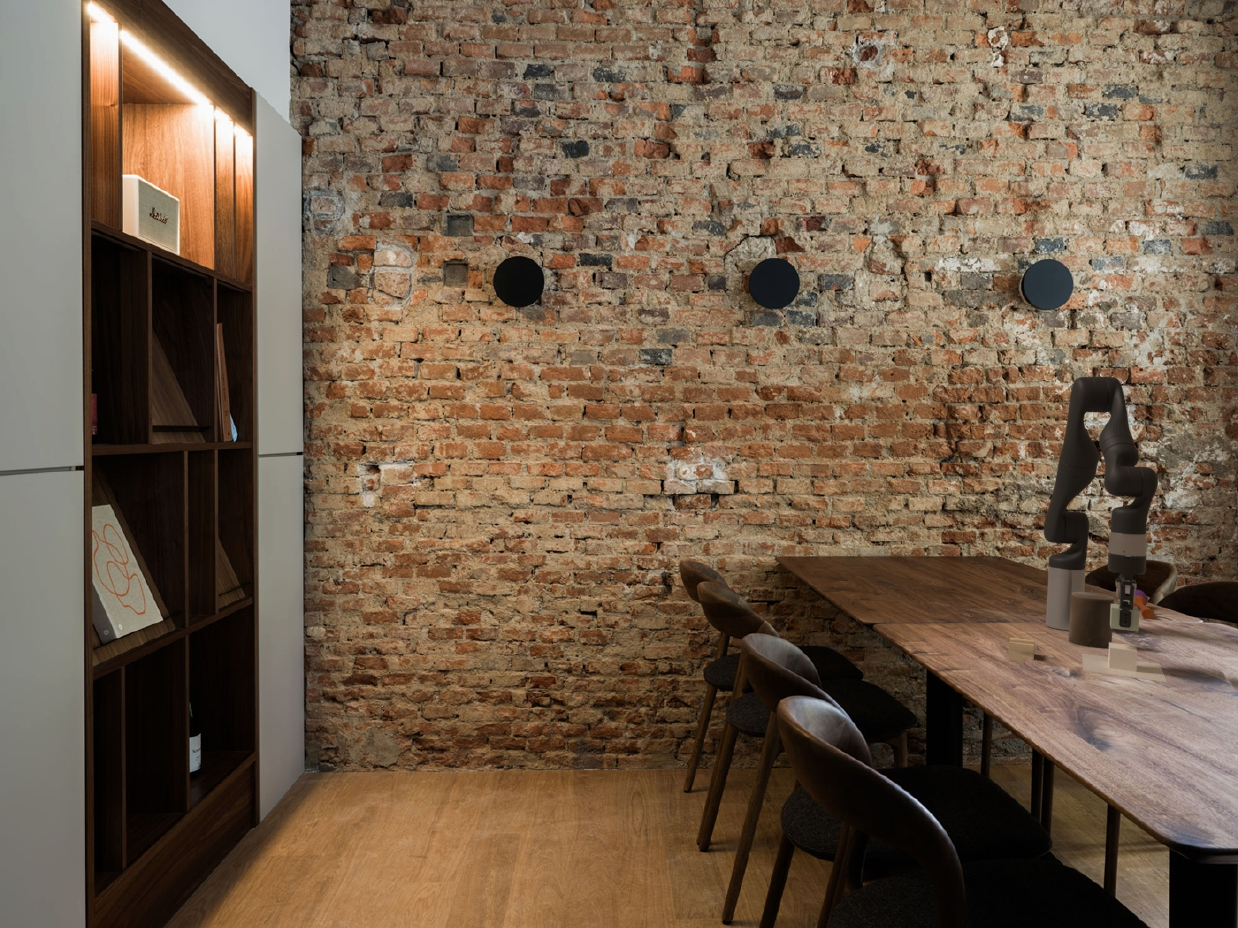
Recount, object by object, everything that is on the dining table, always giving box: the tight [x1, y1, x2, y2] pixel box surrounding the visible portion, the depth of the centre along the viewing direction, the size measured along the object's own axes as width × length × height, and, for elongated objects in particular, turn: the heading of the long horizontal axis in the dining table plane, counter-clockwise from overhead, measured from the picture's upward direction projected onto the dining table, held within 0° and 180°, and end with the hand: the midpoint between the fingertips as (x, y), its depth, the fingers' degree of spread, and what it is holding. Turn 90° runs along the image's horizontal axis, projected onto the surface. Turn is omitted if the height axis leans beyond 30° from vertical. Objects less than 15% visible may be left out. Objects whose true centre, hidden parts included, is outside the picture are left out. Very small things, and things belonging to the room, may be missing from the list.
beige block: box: [1107, 642, 1139, 672], centre depth 189 cm, size 5×5×5 cm
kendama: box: [1133, 589, 1156, 620], centre depth 253 cm, size 6×6×20 cm
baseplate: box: [1081, 653, 1168, 683], centre depth 190 cm, size 16×16×1 cm
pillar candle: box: [1068, 590, 1115, 649], centre depth 210 cm, size 10×10×15 cm
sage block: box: [1110, 603, 1140, 632], centre depth 189 cm, size 5×5×5 cm
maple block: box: [1007, 637, 1036, 664], centre depth 198 cm, size 5×5×5 cm
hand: (1124, 623), depth 189 cm, fingers closed on sage block, 5 cm apart
